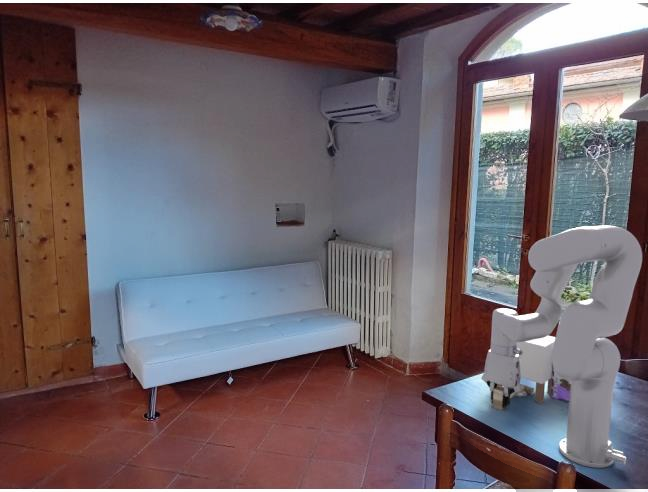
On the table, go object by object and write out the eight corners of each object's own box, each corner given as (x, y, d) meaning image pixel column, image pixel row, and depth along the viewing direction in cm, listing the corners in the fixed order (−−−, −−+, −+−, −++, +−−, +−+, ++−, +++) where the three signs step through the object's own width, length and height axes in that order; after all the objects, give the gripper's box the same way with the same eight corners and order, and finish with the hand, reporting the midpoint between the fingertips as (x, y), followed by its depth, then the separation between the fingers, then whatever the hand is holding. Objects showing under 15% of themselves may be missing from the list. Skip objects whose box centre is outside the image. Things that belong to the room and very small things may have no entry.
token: (529, 394, 162) (529, 390, 162) (523, 398, 159) (523, 395, 158) (514, 389, 166) (515, 386, 165) (508, 393, 162) (508, 390, 162)
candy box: (550, 397, 159) (553, 349, 157) (556, 391, 164) (559, 345, 161) (596, 411, 150) (601, 360, 148) (601, 405, 154) (606, 355, 152)
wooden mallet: (506, 412, 149) (507, 393, 148) (488, 405, 153) (489, 387, 152) (533, 393, 162) (534, 376, 161) (516, 388, 167) (517, 371, 166)
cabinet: (555, 392, 163) (559, 338, 161) (539, 404, 154) (544, 347, 152) (509, 378, 175) (513, 327, 172) (492, 388, 166) (495, 335, 163)
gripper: (534, 352, 146) (530, 409, 149) (485, 339, 158) (482, 392, 161) (523, 358, 141) (519, 417, 144) (473, 344, 153) (470, 399, 156)
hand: (499, 404), depth 152 cm, fingers closed on wooden mallet, 2 cm apart
